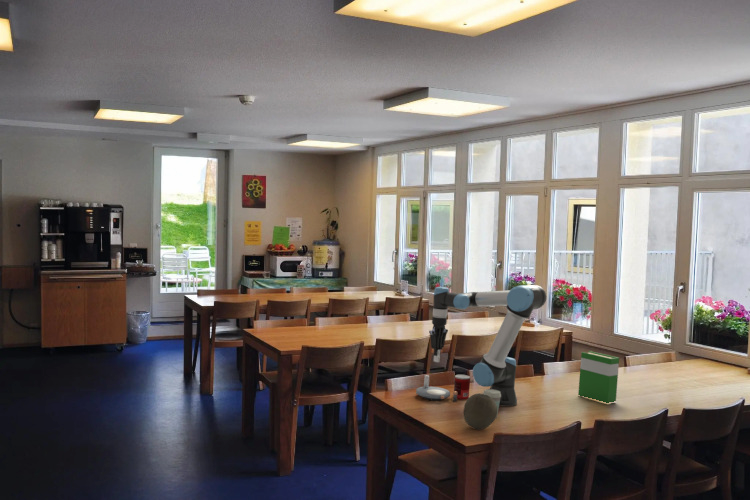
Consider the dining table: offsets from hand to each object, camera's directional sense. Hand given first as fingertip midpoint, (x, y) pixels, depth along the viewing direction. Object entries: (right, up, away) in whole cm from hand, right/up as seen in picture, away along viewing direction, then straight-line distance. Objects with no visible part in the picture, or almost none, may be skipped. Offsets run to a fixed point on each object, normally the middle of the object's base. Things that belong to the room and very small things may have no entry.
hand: (436, 361), depth 336 cm
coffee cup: (+21, -19, -38) cm, 47 cm away
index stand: (0, -17, -13) cm, 21 cm away
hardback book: (+85, -21, +5) cm, 88 cm away
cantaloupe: (+13, -20, -56) cm, 61 cm away
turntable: (-3, -14, -12) cm, 19 cm away
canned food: (+12, -17, -8) cm, 22 cm away
